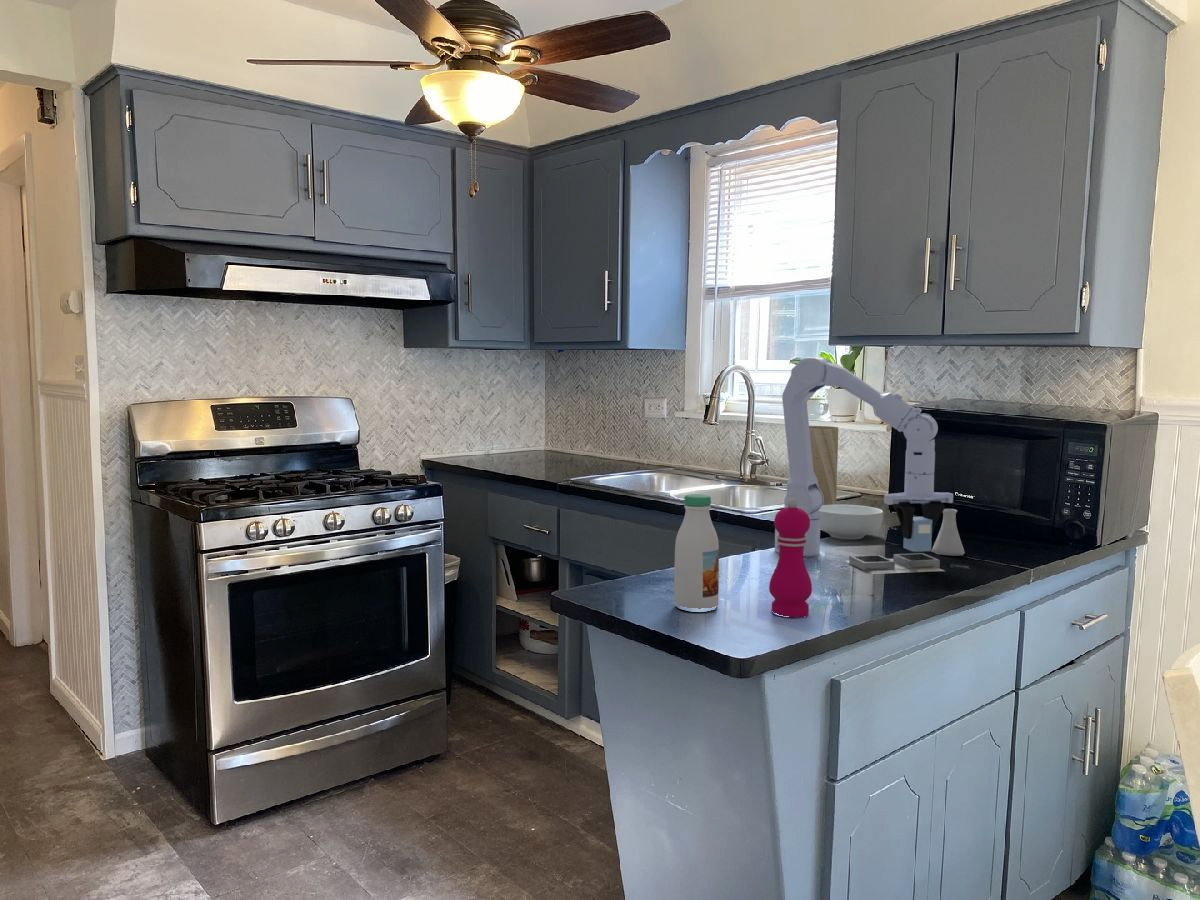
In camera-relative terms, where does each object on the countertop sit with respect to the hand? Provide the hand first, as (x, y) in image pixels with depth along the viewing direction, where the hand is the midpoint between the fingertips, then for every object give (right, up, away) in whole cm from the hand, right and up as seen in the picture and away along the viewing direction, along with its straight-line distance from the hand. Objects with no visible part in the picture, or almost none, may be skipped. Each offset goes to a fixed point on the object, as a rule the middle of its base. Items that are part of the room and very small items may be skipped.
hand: (917, 537), depth 185 cm
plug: (0, -3, 0) cm, 3 cm away
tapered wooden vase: (-5, -1, +65) cm, 65 cm away
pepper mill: (-33, -10, -32) cm, 47 cm away
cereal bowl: (-5, -4, +36) cm, 36 cm away
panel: (-5, -7, 0) cm, 8 cm away
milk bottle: (-49, -10, -29) cm, 58 cm away
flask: (+13, -5, +17) cm, 22 cm away
